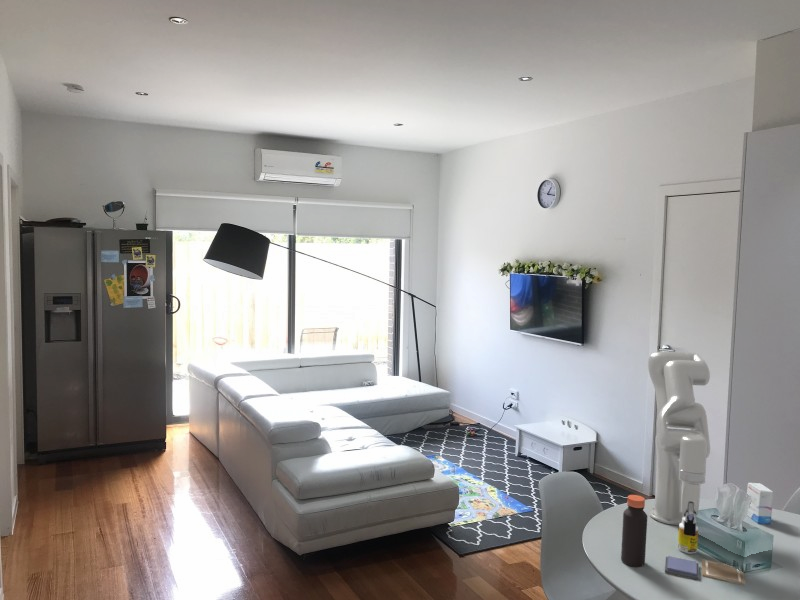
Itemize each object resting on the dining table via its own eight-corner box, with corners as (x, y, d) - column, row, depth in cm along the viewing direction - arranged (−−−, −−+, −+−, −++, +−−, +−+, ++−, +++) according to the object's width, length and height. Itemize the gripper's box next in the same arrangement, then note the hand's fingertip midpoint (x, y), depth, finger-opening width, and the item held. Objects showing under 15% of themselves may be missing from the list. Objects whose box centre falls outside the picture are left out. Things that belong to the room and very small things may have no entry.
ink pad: (665, 559, 191) (666, 554, 191) (698, 566, 187) (698, 561, 187) (664, 572, 183) (665, 567, 183) (698, 580, 179) (699, 575, 179)
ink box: (772, 524, 218) (774, 491, 217) (757, 523, 218) (759, 491, 217) (758, 513, 226) (760, 482, 225) (744, 513, 226) (746, 481, 225)
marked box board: (701, 559, 191) (701, 558, 191) (742, 567, 187) (742, 566, 187) (702, 576, 181) (702, 574, 181) (745, 585, 177) (745, 583, 177)
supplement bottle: (690, 556, 193) (692, 524, 192) (673, 548, 198) (675, 517, 197) (700, 551, 196) (702, 520, 195) (684, 544, 201) (686, 514, 200)
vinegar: (630, 554, 194) (633, 491, 192) (649, 563, 188) (653, 499, 186) (616, 559, 190) (619, 496, 188) (635, 569, 184) (639, 504, 183)
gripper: (679, 466, 204) (676, 517, 205) (678, 481, 188) (675, 537, 189) (704, 469, 201) (701, 522, 202) (706, 485, 185) (703, 542, 186)
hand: (689, 529), depth 195 cm, fingers open, 9 cm apart
